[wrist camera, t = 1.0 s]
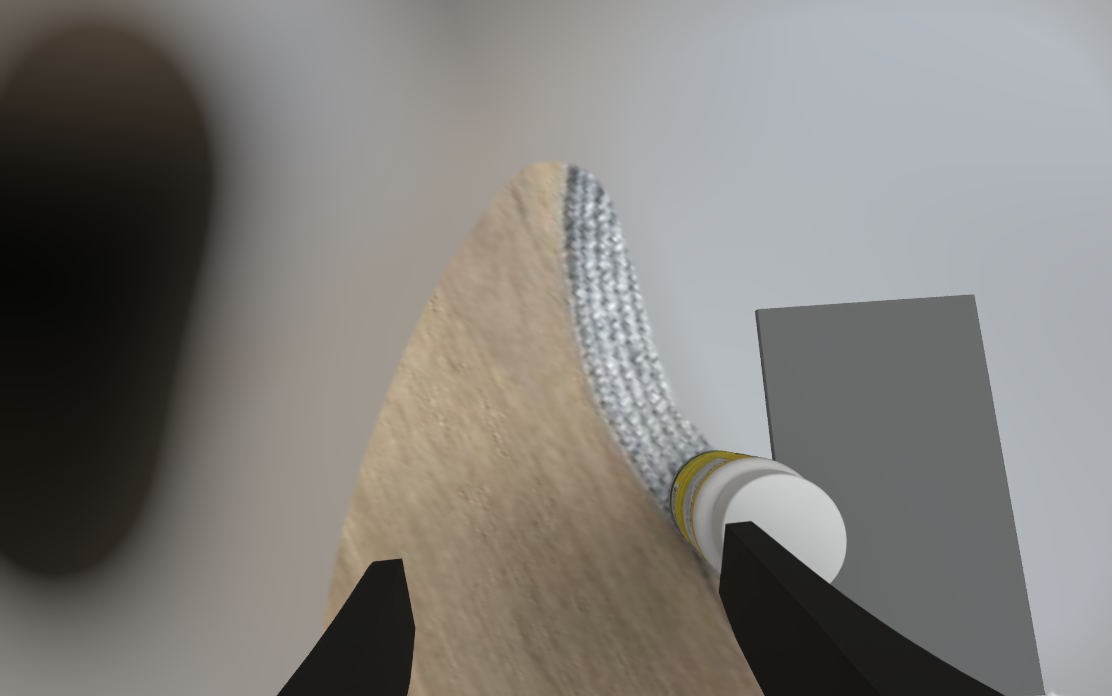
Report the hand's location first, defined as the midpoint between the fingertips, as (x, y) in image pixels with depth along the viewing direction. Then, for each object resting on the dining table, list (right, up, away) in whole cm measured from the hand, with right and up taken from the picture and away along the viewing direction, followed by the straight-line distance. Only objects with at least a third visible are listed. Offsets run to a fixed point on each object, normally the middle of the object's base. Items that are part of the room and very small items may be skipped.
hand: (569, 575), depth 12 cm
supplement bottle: (+7, -2, +14) cm, 16 cm away
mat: (+15, -2, +13) cm, 20 cm away
